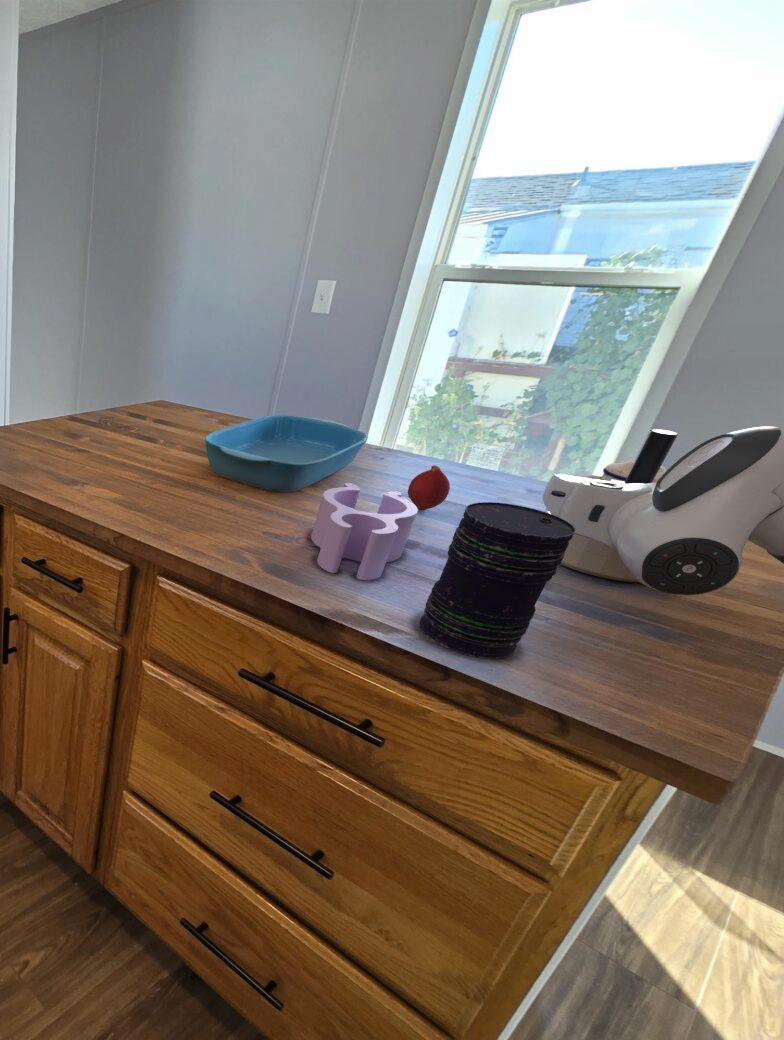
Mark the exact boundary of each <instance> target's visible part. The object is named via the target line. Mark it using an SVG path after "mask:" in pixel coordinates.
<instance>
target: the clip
mask: <svg viewBox="0 0 784 1040" xmlns="http://www.w3.org/2000/svg"><path fill="white" fill-rule="evenodd" d="M360 493H361V488H360V487H359V486H357V485H355V484H353V483H351V482H346V483H344V485H343V486H340V487H333V488H329V489H326V490H325V491H324V492H323V493H322V497H321V500H320V504H319V507H318V511H317V514H316V517H315V520H314V521H315V522H314V525H313V528H312V532H311V535H310V539H311V542H312V543H314V545H315V546H317V547H318V548H320V549H319V554H318V557H317V559H316V562H317V564H318V565H319V567H321V569H323V570H325V571H327V572H328V573H330V574H336V573H338V571H339V569H340V565H341V562H342V559H348V560H353V561H356V562H359V563H360V565H359V567H358V571H357V573H356V578H357V579H358V580H361V581H371V580H377V579H379V578H381V576H382V574H383V571H384V569H385V566H386V563H389V562H393V561H397V560H398V559H400V558H401V557H402V555H403V552H404V550H405V547H406V543H407V542H408V538H409V536H410V533H411V531H412V528H413V525H414V522H415V520H416V517H417V515H418V511H419V510H418V509H417V507H416V506H415V505H414V503H413V502H412V501H411V500H408V499H406V498H404V497H403V493H402V492H400V491H396V490H393V491H386V492H384V493H383V495H382V498H381V500H380V504H379V507H378V510H377V513H376V512H369V511H364V510H359V509H356V506H357V502H358V499H359V496H360Z"/></svg>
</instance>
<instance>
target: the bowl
mask: <svg viewBox="0 0 784 1040" xmlns="http://www.w3.org/2000/svg"><path fill="white" fill-rule="evenodd" d="M544 512H546V513H549V511H548V510H547V508H546V507H545V511H544ZM549 514H550V513H549ZM568 542H569V545H568V547H567V549H566V551H565V556H564V557H563V560H562V562H561V563H560V565H561V566H564V567H567V568H569V569H572V570H574V571H577V572H580V573H584V574H587V575H591V576H595V577H598V578H604V579H607V580H608V579H609V580H613V581H619V582H627V583H641V582H640V581H639V580H637V579H636V578H635V577H634V576H633V575H632V574H631V572H630V571H629V570H628V569H627V567H626V566H625V565H624V563H623V561H622V560H621V558H620V556H619V554H618V551H617V549H614V548H612V547H609V546H607V545H605V544H603V543H601V542H599V541H596V540H594V539H590V538H587V537H584V536H581V535H577V534H574V535H573V537H572V539H571V540H570V541H568Z"/></svg>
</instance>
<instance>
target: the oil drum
mask: <svg viewBox="0 0 784 1040" xmlns="http://www.w3.org/2000/svg"><path fill="white" fill-rule="evenodd" d="M551 495H553V496H557V497H565V496H566V493H565V492H562V491H555V490H554V491H552V492H551ZM462 516H463V517H462V518H461V519H460V522H459V525H458V526H457V527H456V529H455V531H454V533H453V536H452V540H451V542H450V544H449V545H448V550H447V555H448V557H447V559H446V562H445V564H444V567H443V569H442V572H441V574H440V577H439V579H438V580H436V581H435V583H434V584H433V586H432V588H431V592H430V594H429V595H428V598H427V599H426V602H425V608H424V610H423V615H422V616H421V617H420V620H419V622H418V627H419V629H420V631H421V632H422V633H423V634H424V635H425V636H426V638H428V639H429V640H431V641H432V642H434V643H435V644H437V645H439V646H441V647H444V648H445V649H448V650H450V651H453V652H456V653H459V654H461V655H465V656H469V657H474V658H480V659H488V660H496V659H497V660H498V659H501V660H502V659H505V658H509V657H511V656H512V655H514V654H515V652H516V650H517V647H518V643H520V641H521V640H522V638H523V636H524V635H526V633H527V631H528V629H529V627H530V625H531V621H532V619H534V617H535V613H536V604H537V602H538V600H539V598H540V597H541V594H542V592H543V590H544V588H545V586H546V584H547V583H548V582H550V581H551V580H552V579H553V577H554V576H555V575H557V574H556V573H557V569H558V567H559V566H560V565H561V564H560V563H561V562H562V560H563V557H564V556H565V551H566V549H567V547H568V545H569V542H568V541H570V540H571V539H572V537H573V535H574V533H575V531H576V530H575V528H574V526H573V525H571V524H570V523H569V522H567V521H565V520H563V519H561V518H559V517H557V516H554V515H552V514H549V513H546V512H545V511H543V510H540V509H536V508H532V507H527V506H523V505H518V504H512V503H506V502H505V503H504V502H491V501H489V502H488V501H483V502H475V503H470V504H468V505H467V506H466V507H465V510H464V512H463V515H462Z"/></svg>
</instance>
